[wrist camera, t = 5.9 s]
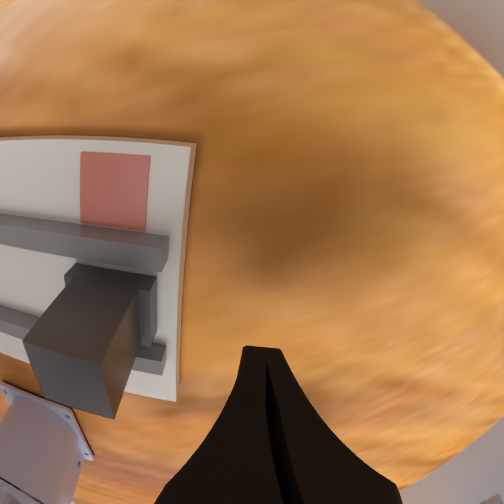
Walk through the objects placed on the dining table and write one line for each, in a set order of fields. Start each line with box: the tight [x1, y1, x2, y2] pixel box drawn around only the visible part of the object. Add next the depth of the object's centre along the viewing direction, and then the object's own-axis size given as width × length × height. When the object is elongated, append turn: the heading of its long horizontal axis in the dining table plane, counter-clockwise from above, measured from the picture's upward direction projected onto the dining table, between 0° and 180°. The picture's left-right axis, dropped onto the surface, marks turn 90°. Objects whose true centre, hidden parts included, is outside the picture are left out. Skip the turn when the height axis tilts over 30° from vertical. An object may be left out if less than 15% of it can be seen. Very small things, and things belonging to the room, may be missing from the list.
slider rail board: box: [0, 135, 197, 402], centre depth 13 cm, size 14×18×3 cm
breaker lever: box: [22, 263, 157, 419], centre depth 11 cm, size 3×4×6 cm
